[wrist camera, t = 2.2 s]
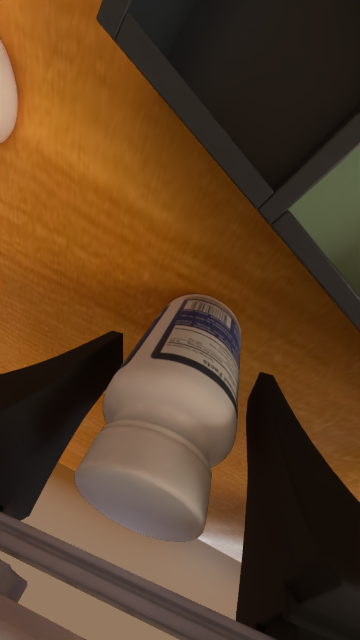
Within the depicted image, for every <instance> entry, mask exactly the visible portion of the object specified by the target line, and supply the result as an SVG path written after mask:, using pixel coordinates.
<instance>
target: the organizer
mask: <svg viewBox="0 0 360 640" xmlns="http://www.w3.org/2000/svg"><path fill="white" fill-rule="evenodd" d="M97 21H98V22H99V24H100V25H101V26H102V27H103V28H104V30H105V31H106V32H107V33H108V34H109V35H110V37H111V38H112V39H113V40H114V41H115V42H116V44H117V45H118V46H119V47H120V49H121V50H122V51H123V52H124V53H125V54H126V56H127V57H128V58H129V59H130V60H131V62H132V63H133V64H134V65H135V66H136V68H137V69H138V70H139V71H140V72H141V73H142V75H143V76H144V77H145V78H146V79H147V81H148V82H149V83H150V84H151V85H152V87H153V88H154V89H155V90H156V91H157V92H158V94H159V95H160V96H161V97H162V98H163V100H164V101H165V102H166V103H167V104H168V105H169V107H170V108H171V109H172V110H173V111H174V113H175V114H176V115H177V116H178V117H179V119H180V120H181V121H182V122H183V123H184V124H185V126H186V127H187V128H188V129H189V130H190V132H191V133H192V134H193V135H194V136H195V138H196V139H197V140H198V141H199V142H200V143H201V145H202V146H203V147H204V148H205V149H206V151H207V152H208V153H209V154H210V155H211V157H212V158H213V159H214V160H215V161H216V162H217V164H218V165H219V166H220V167H221V168H222V170H223V171H224V172H225V173H226V174H227V175H228V177H229V178H230V179H231V180H232V181H233V183H234V184H235V185H236V186H237V187H238V189H239V190H240V191H241V192H242V193H243V194H244V196H245V197H246V198H247V199H248V200H249V202H250V203H251V204H252V205H253V206H254V208H255V209H257V211H258V212H259V213H260V215H261V216H262V217H263V218H264V219H265V221H266V222H267V223H268V224H269V225H270V226H271V228H272V229H273V230H274V231H275V232H276V234H277V235H278V236H279V237H280V238H281V240H282V241H283V242H284V243H285V244H286V245H287V247H288V248H289V249H290V250H291V251H292V253H293V254H294V255H295V256H296V257H297V259H298V260H299V261H300V262H301V263H302V264H303V266H304V267H305V268H306V269H307V270H308V272H309V273H310V274H311V275H312V276H313V277H314V279H315V280H316V281H317V282H318V283H319V285H320V286H321V287H322V288H323V289H324V291H325V292H326V293H327V294H328V295H329V296H330V298H331V299H332V300H333V301H334V302H335V304H336V305H337V306H338V307H339V308H340V310H341V311H342V312H343V313H344V314H345V315H346V317H347V318H348V319H349V320H350V321H351V323H352V324H353V325H354V326H355V327H356V329H357V330H358V331H359V332H360V0H103V1H102V3H101V6H100V9H99V12H98V14H97Z"/></svg>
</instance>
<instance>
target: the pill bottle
mask: <svg viewBox="0 0 360 640" xmlns="http://www.w3.org/2000/svg"><path fill="white" fill-rule="evenodd" d="M240 349H241V330H240V326H239V323H238V320H237V318H236V317H235V315H234V313H233V312H232V311H231V310H230V309H229V308H228V307H227V306H226V305H225V304H224V303H222V302H221V301H219V300H217V299H215V298H213V297H210V296H206V295H200V294H191V295H185V296H181V297H179V298H176V299H175V300H173V301H172V302H170V303H169V304H168V305H167V306H166V307H165V308H164V309H163V310H162V311H161V312H160V314H159V315H158V317H157V318H156V319H155V321H154V322H153V323H152V325H151V326H150V327H149V329H148V330H147V332H146V333H145V334H144V336H143V337H142V338H141V340H140V341H139V343H138V344H137V345H136V347H135V348H134V349H133V351H132V352H131V353H130V355H129V356H128V357H127V359H126V360H125V361H124V363H123V364H122V366H121V367H120V368H119V369H118V371H117V372H116V374H115V375H114V376H113V378H112V380H111V382H110V383H109V385H108V387H107V389H106V391H105V394H104V399H103V413H104V418H105V421H106V423H107V425H106V426H105V427H103V429H102V430H101V432H100V433H99V434H98V435H97V436H96V437H95V439H94V441H93V443H92V445H91V446H90V448H89V450H88V452H87V453H86V455H85V457H84V458H83V460H82V462H81V463H80V465H79V466H78V468H77V470H76V472H75V484H76V487H77V489H78V491H79V493H80V494H81V495H82V497H83V498H84V499H85V500H86V501H87V502H88V503H89V504H90V505H92V506H93V507H94V508H95V509H96V510H98V511H99V512H101V513H102V514H103V515H105V516H106V517H108V518H109V519H111V520H112V521H114V522H116V523H118V524H120V525H122V526H123V527H126V528H127V529H129V530H132V531H135V532H137V533H140V534H143V535H146V536H149V537H152V538H156V539H160V540H165V541H174V542H185V541H191V540H194V539H196V538H198V537H199V536H200V535H201V534H202V533H203V531H204V527H205V524H206V517H207V510H208V503H209V496H210V488H211V477H212V472H211V467H213V466H215V465H217V464H219V463H220V462H221V461H222V460H224V459H225V458H226V456H227V455H228V454H229V453H230V451H231V449H232V447H233V445H234V442H235V438H236V431H237V415H238V389H239V370H240Z"/></svg>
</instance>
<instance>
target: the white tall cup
mask: <svg viewBox="0 0 360 640" xmlns="http://www.w3.org/2000/svg"><path fill="white" fill-rule="evenodd" d="M17 114H18V92H17V85H16V80H15V76H14V72H13V68H12V65H11V62H10V59H9V57H8V54H7V52H6V49H5V47H4V45H3V43H2V41H1V39H0V144H1V143H3V142H4V141H5V140H7V139H8V137H9V136H10V135H11V133H12V131H13V129H14V127H15V124H16V120H17Z"/></svg>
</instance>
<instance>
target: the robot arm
mask: <svg viewBox="0 0 360 640" xmlns="http://www.w3.org/2000/svg"><path fill="white" fill-rule="evenodd" d="M122 363H123V333H120V332H116V331H110V332H108V333H106V334H104V335H102V336H100V337H98V338H96V339H94V340H92V341H90V342H88V343H85V344H83V345H81V346H79V347H77V348H75V349H73V350H70V351H68V352H66V353H63V354H61V355H59V356H56V357H54V358H51V359H48V360H46V361H43V362H40V363H37V364H34V365H31V366H28V367H25V368H21V369H18V370H14V371H11V372H7V373H4V374H0V551H2V552H4V553H6V554H8V555H10V556H12V557H14V558H16V559H19V560H20V561H22V562H24V563H26V564H28V565H30V566H32V567H34V568H36V569H38V570H40V571H42V572H44V573H47V574H49V575H51V576H53V577H55V578H57V579H59V580H61V581H63V582H65V583H67V584H69V585H71V586H73V587H75V588H77V589H79V590H81V591H83V592H85V593H87V594H89V595H91V596H93V597H95V598H97V599H99V600H101V601H103V602H105V603H107V604H109V605H111V606H113V607H115V608H117V609H119V610H121V611H123V612H125V613H127V614H129V615H131V616H133V617H135V618H137V619H139V620H141V621H143V622H145V623H147V624H149V625H151V626H153V627H155V628H157V629H159V630H161V631H164V632H165V633H168V634H169V635H172V636H174V637H176V638H178V639H180V640H360V502H359V501H358V500H357V499H356V498H355V497H354V496H353V494H352V493H351V492H350V491H349V490H348V488H347V487H346V486H345V485H344V484H343V482H342V481H341V480H340V479H339V477H338V476H337V475H336V474H335V473H334V471H333V470H332V469H331V467H330V466H329V465H328V464H327V462H326V461H325V460H324V458H323V457H322V455H321V454H320V453H319V451H318V450H317V449H316V447H315V446H314V444H313V443H312V442H311V440H310V439H309V437H308V436H307V434H306V432H305V431H304V429H303V428H302V426H301V425H300V423H299V421H298V420H297V418H296V416H295V415H294V413H293V411H292V409H291V408H290V406H289V404H288V402H287V400H286V399H285V397H284V395H283V393H282V391H281V389H280V387H279V385H278V383H277V382H276V380H275V378H274V376H273V375H270V374H266V373H263V372H260V373H259V376H258V378H257V380H256V382H255V385H254V387H253V389H252V391H251V394H250V396H249V398H248V402H247V413H246V437H247V463H248V482H247V500H246V515H245V530H244V541H243V553H242V565H241V575H240V584H239V593H238V602H237V611H236V621H235V620H233V619H230V618H229V617H226V616H224V615H222V614H220V613H218V612H216V611H213V610H211V609H209V608H207V607H205V606H202V605H200V604H198V603H196V602H194V601H192V600H190V599H187V598H185V597H183V596H181V595H179V594H177V593H174V592H172V591H170V590H168V589H166V588H163V587H162V586H159V585H157V584H155V583H153V582H151V581H149V580H146V579H144V578H142V577H140V576H138V575H136V574H133V573H131V572H129V571H127V570H125V569H123V568H120V567H118V566H116V565H114V564H112V563H110V562H107V561H105V560H103V559H101V558H99V557H97V556H94V555H92V554H90V553H88V552H86V551H84V550H82V549H79V548H77V547H75V546H72V545H71V544H69V543H66V542H64V541H62V540H60V539H58V538H56V537H54V536H51V535H49V534H47V533H45V532H43V531H41V530H38V529H36V528H34V527H32V526H30V525H27V524H25V523H23V522H21V520H23V519H24V518H26V517H28V516H29V515H30V513H31V511H32V509H33V507H34V505H35V503H36V501H37V500H38V498H39V496H40V494H41V492H42V490H43V488H44V486H45V484H46V482H47V480H48V479H49V477H50V475H51V473H52V471H53V469H54V468H55V466H56V464H57V462H58V461H59V459H60V457H61V455H62V454H63V452H64V450H65V448H66V447H67V445H68V443H69V442H70V440H71V438H72V437H73V435H74V433H75V432H76V430H77V429H78V427H79V425H80V424H81V422H82V421H83V419H84V418H85V416H86V415H87V413H88V412H89V411H90V409H91V408H92V407H93V405H94V404H95V403H96V401H97V400H98V399H99V397H100V396H101V395H102V394H103V392H104V391H105V390H106V388H107V387H108V385H109V383H110V382H111V380H112V378H113V376H114V375H115V374H116V372H117V371H118V369H119V368H120V367H121V365H122ZM26 587H27V581H26V580H24V579H23V578H22V577H20V576H19V575H18V574H17V573H16V572H14V571H13V570H12V569H11V566H10V565H9V564H7V563H5V562H4V561H2V560H0V640H86V639H84V638H82V637H80V636H79V635H77V634H75V633H73V632H71V631H69V630H67V629H65V628H64V627H62V626H60V625H58V624H56V623H54V622H52V621H50V620H49V619H47V618H45V617H43V616H41V615H39V614H37V613H35V612H33V611H31V610H30V609H28V608H26V607H24V606H22V605H20V604H18V601H19V599H20V598H21V596H22V594H23V592H24V590H25V589H26Z"/></svg>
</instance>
